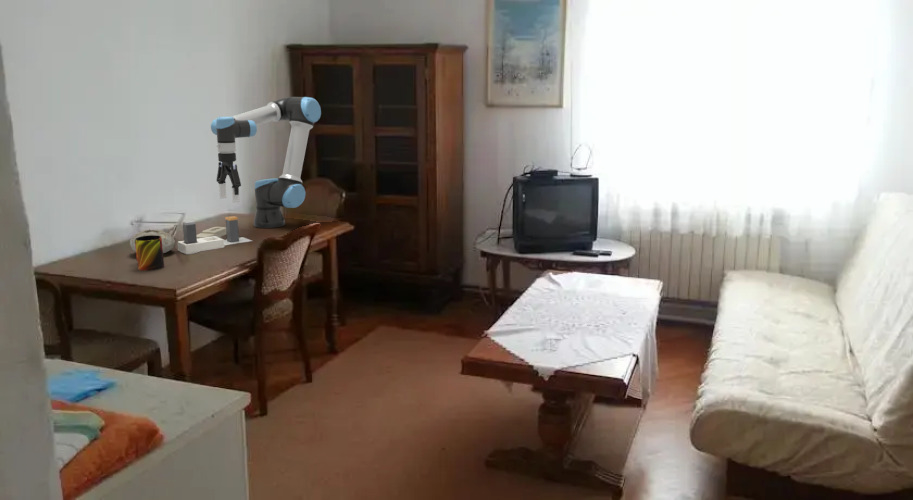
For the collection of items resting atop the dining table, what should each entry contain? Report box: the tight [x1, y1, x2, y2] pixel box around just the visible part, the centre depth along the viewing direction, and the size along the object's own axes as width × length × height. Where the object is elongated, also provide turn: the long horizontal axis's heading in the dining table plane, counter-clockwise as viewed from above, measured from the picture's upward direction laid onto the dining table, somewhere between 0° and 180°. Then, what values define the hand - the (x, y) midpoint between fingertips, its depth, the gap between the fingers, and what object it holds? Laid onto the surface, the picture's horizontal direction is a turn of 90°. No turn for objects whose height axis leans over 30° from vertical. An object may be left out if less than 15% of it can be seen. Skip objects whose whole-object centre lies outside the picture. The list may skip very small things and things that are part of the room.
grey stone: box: [129, 228, 176, 254], centre depth 330 cm, size 18×18×10 cm
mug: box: [135, 235, 165, 272], centre depth 308 cm, size 10×14×12 cm
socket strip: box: [177, 220, 225, 256], centre depth 336 cm, size 17×9×13 cm, turn 131°
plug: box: [224, 215, 240, 243], centre depth 350 cm, size 4×4×11 cm
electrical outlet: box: [196, 226, 227, 239], centre depth 359 cm, size 7×4×18 cm
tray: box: [224, 236, 253, 246], centre depth 351 cm, size 14×10×1 cm
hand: (229, 200), depth 347 cm, fingers open, 13 cm apart
